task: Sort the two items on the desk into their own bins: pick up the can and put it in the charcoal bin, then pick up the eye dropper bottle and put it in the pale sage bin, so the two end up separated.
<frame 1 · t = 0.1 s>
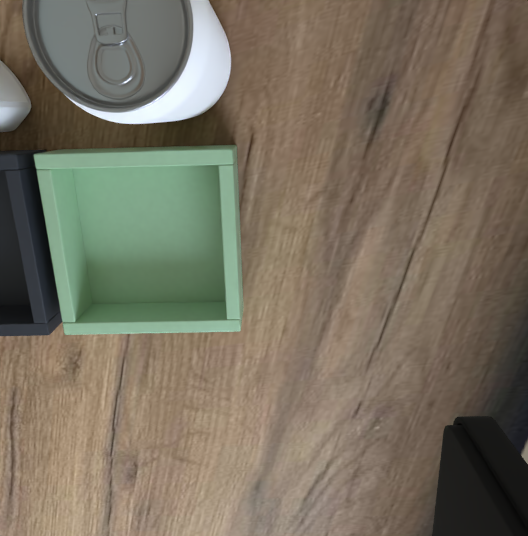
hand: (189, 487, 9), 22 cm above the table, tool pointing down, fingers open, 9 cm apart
sage bin: (157, 232, 30), on the table
can: (176, 61, 27), on the table
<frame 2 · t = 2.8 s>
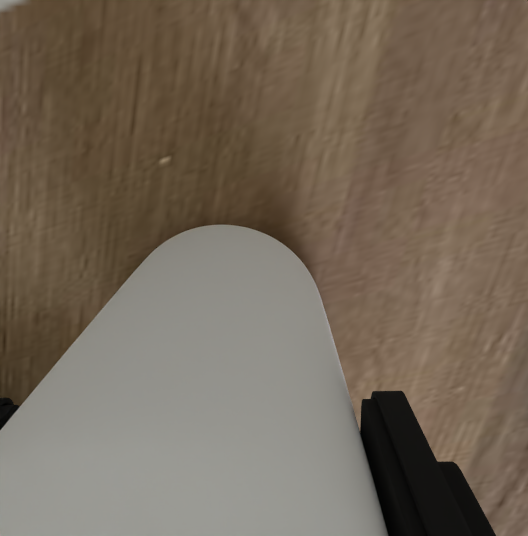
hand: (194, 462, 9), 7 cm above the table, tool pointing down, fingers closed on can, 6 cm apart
can: (226, 312, 16), on the table, touching gripper
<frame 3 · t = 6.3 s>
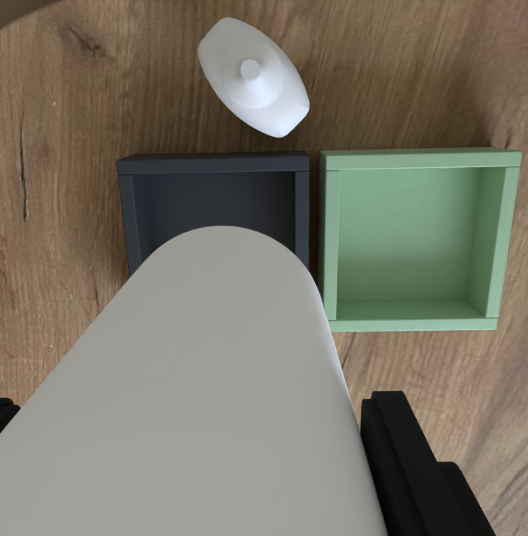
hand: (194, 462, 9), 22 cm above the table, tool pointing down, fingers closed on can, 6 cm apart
eye dropper bottle: (257, 87, 28), on the table
sage bin: (400, 232, 31), on the table
can: (226, 313, 16), point 15 cm above the table, touching gripper
charcoal bin: (223, 235, 31), on the table
when the fingers open (8 cm above the table, at t = 10.1 s): can stays where it is, resting on charcoal bin.
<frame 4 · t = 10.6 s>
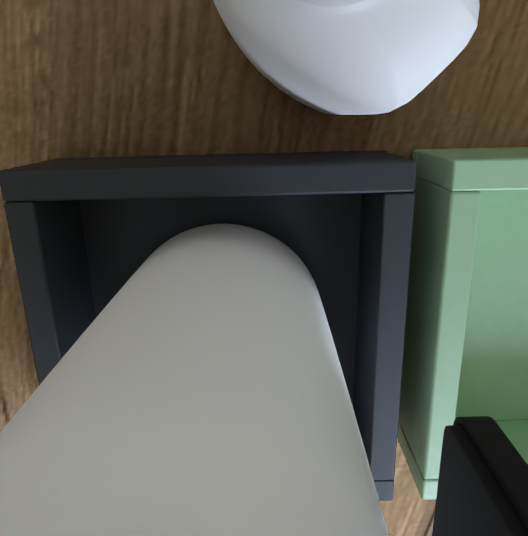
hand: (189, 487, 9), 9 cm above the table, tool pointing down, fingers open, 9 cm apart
eye dropper bottle: (296, 26, 14), on the table
can: (227, 309, 17), resting on charcoal bin
charcoal bin: (227, 306, 17), on the table
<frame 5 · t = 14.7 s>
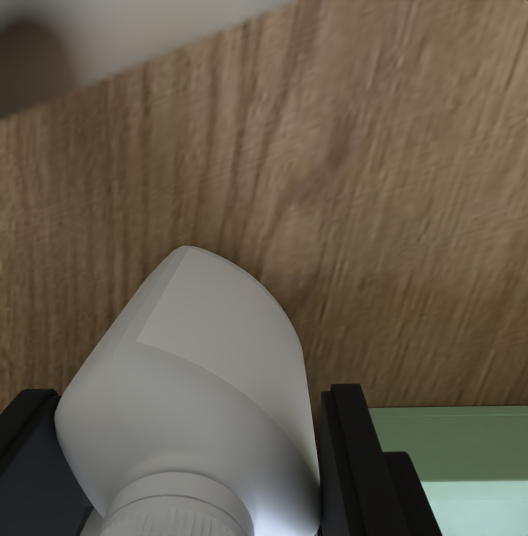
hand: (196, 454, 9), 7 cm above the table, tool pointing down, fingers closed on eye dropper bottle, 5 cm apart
eye dropper bottle: (226, 313, 16), on the table, touching gripper
sage bin: (465, 521, 19), on the table
can: (172, 532, 18), resting on charcoal bin
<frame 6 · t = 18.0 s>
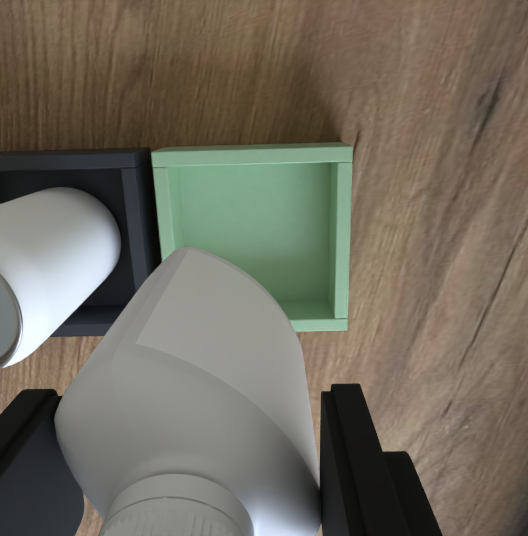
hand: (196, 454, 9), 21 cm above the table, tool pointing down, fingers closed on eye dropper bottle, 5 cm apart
eye dropper bottle: (226, 313, 16), point 14 cm above the table, touching gripper
sage bin: (256, 231, 30), on the table
can: (72, 236, 30), resting on charcoal bin
charcoal bin: (75, 235, 30), on the table
when the fingers open (7 cm above the table, at t = 21.4 s): eye dropper bottle stays where it is, resting on sage bin.
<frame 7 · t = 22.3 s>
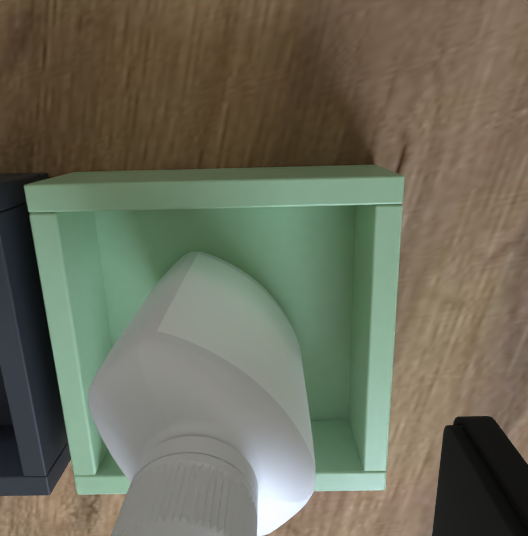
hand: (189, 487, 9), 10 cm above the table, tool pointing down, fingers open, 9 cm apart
eye dropper bottle: (230, 312, 18), resting on sage bin
sage bin: (231, 309, 18), on the table
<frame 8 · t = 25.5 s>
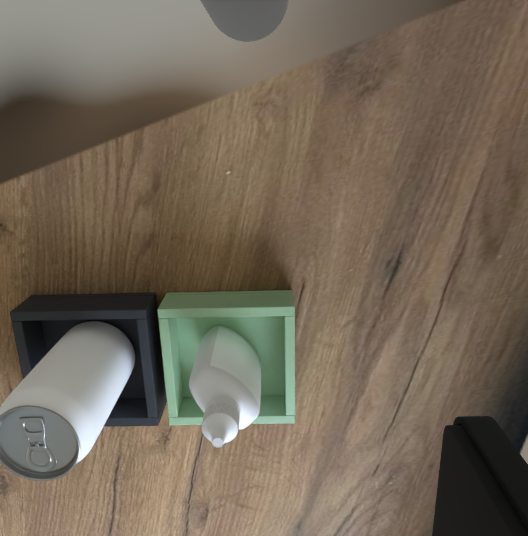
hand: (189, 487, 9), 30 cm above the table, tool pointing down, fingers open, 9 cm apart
eye dropper bottle: (231, 349, 41), resting on sage bin
sage bin: (232, 347, 41), on the table
can: (100, 351, 41), resting on charcoal bin
charcoal bin: (101, 350, 42), on the table
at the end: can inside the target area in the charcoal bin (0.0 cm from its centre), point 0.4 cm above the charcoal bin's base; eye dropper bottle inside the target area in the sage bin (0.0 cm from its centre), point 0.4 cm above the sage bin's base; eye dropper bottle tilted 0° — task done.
